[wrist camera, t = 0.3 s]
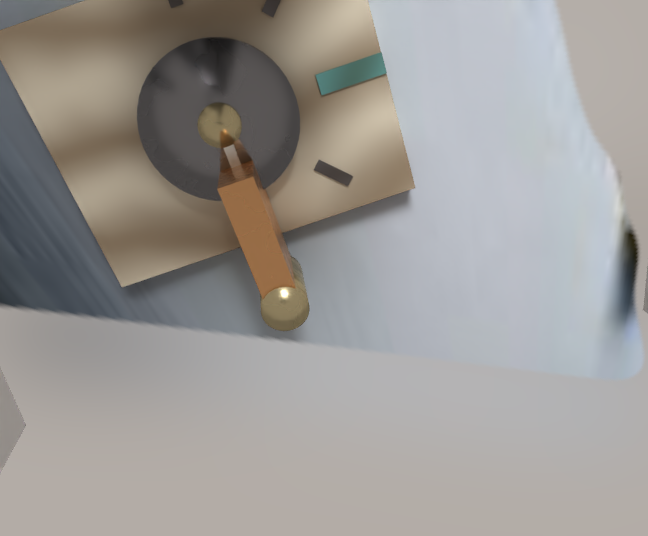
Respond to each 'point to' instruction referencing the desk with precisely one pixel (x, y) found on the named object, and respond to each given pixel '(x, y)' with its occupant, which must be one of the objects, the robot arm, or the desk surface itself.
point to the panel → (122, 130)
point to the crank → (230, 151)
